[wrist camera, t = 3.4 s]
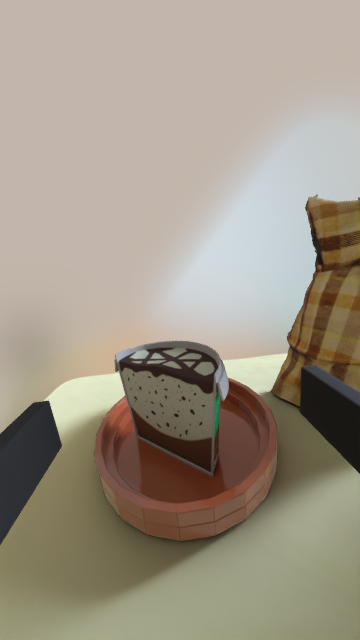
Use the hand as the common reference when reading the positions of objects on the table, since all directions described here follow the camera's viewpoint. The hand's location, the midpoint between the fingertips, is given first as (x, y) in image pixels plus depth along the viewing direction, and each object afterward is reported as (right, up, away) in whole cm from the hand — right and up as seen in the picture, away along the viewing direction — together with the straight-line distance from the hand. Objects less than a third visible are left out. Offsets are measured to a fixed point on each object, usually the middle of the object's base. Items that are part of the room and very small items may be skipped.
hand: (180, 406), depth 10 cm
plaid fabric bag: (+20, -6, +15) cm, 26 cm away
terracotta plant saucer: (+1, -9, +12) cm, 15 cm away
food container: (+1, -8, +12) cm, 15 cm away
